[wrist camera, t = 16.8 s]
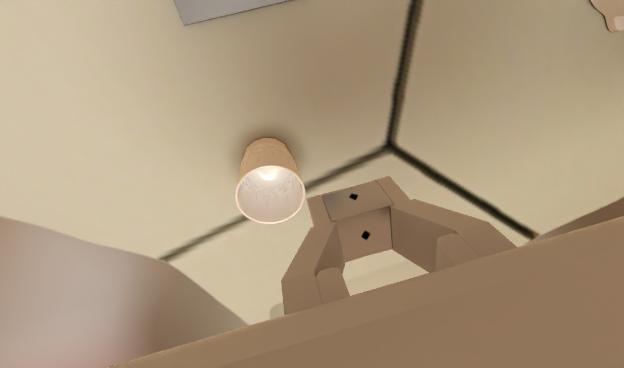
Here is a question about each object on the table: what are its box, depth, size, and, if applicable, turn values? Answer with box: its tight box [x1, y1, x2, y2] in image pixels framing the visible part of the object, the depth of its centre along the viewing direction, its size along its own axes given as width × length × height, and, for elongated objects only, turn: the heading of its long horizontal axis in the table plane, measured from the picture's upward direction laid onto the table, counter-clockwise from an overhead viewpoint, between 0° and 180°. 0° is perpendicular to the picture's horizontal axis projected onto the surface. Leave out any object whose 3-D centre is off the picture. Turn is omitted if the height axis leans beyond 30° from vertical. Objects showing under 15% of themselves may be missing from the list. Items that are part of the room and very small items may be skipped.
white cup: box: [235, 138, 305, 224], centre depth 36 cm, size 8×8×10 cm
